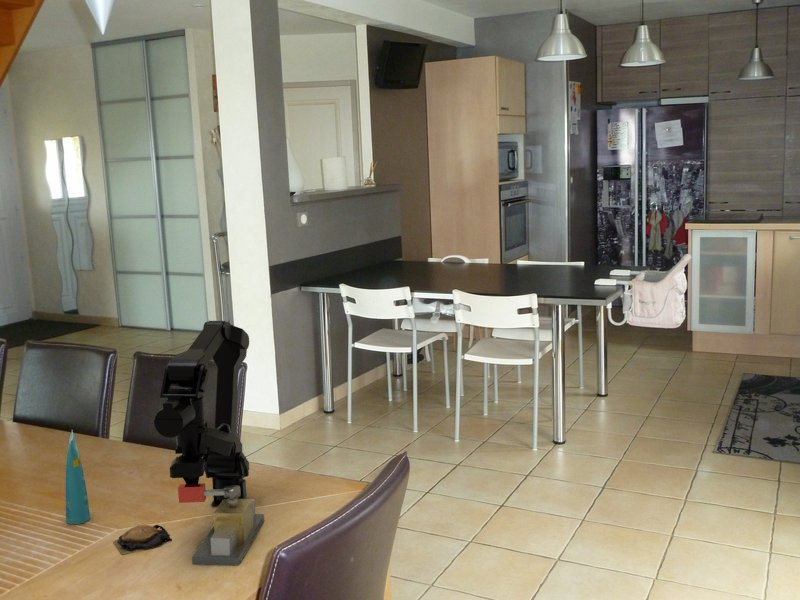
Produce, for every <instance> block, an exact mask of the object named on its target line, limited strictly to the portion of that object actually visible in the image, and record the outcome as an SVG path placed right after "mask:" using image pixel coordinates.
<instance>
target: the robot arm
mask: <svg viewBox="0 0 800 600" xmlns="http://www.w3.org/2000/svg"><path fill="white" fill-rule="evenodd" d="M249 346H250V335H249V334H248V333H247V332H246V331H245V330H244V329H243V328H241V327H239V326H235V325H233V324H231V323H230V322H229V321H226V320H208V321H205V322H204V324H203V327H202V330H201V331H200V333H199V334H198V335H197V337H196V338H195V340H194V341H193V342H192V344H191V345H190V346H189V348H188V349H187V350H185V351H182V352H178V353H177V354H175V356H173V357H172V358H171V359H170V360H169V362H167V364H166V365H165V369H164V374H163V379H162V384H161V390H160V395H159V398H161V399H166V400H164V401H163V402H162V408H161V409H160V410H159V411H157V413H156V414H155V416H154V420H153V423H154V428H155V430H156V431H157V432H158V434H160V435H161V436H163V437H165V438H169V439H171V438H176V439H175V440H176V446H175V449H174V451H175V455H179V456H176V457H175V458H174V459H173V460H172V461H171V463H170V466H169V478H170V479H171V478H172V479H183V481H184V484H200V483H199V481H200V478H201V477H203V476H204V474H205V478H206V479H212V480H211V481H212V489H224V488H225V487H227V486H230V485H238V486H240V492H241V496H240V497H238V498H237V499H247V498H246V497H247V482H246V481H247V480H246V479H245V478H246V477H249V475H250V472H249V471H250V462H249V460H248V459H247V457H246V456H245V454H244V452H243V443H242V441H241V440H240V438H239V436H238V434H237V431H236V430H237V429H236V428H237V413H238V412H237V410H238V407H237V406H238V390H239V389H238V386H239V368H240V366H241V365H242V364H243V363H244V361H245V360H246V358H247V352H248V351H247V350H248V349H249ZM211 360H213V362H214V364H215V366H216V368H217V369H216V386H215V387H216V389H215V390H216V391H215V408H214V409H215V410H214V428H211V427H209V423H208V421H207V419H206V418H205V417H206V416H205V398H204V397H205V395H204V393H205V392H206V388H207V384H208V381H209V377H210V370H209V366H208V365H209V363H210V362H211ZM223 499H227V498H225V497H224V495H214V496H213V501H212V502H211V504H210V505H211V506H212V507H218V506H219V505H220V503H221V502H222V500H223Z"/></svg>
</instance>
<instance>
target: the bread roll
mask: <svg viewBox="0 0 800 600" xmlns="http://www.w3.org/2000/svg"><path fill="white" fill-rule="evenodd" d="M169 542H173V539H172V538H171V535H170V534H169V532H168V531H167V530H166V528H164V527H163V526H162V525H159V524H156V525H147V524H142V525H141V524H140V525H135V526H134V527H133V526H132V527H131V528H130V529H128V530H126V532H124V533H123V534H122V535H119V537H118V539H115V540H113V541H112V544H113V545H114V546H115V548H116V549H117V551H118V552H119V554H120V555H121V556H126V555H131V554H134V553H138V552H143V551H147V550H150V549H154V548H157V547H161V546H165V545H166V544H168V543H169Z"/></svg>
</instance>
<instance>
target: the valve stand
mask: <svg viewBox="0 0 800 600" xmlns="http://www.w3.org/2000/svg"><path fill="white" fill-rule="evenodd" d="M216 507H217V508H216V509H215V510H214V511H213V512H212V513H213V514H212V516H213V518H212V519H213V526H212V527H211V529H210V530H209V532H208V533H207V535H206V536H205V538H204V539H203V540H202V542H201V543H200V544H199V546H198V547H197V548H196V551H195V552H194V553H193V554H192V556H191V565H200V566H201V565H204V566H207V565H210V566H211V565H212V566H239V565H240V564H241V562H242V560H243V558H244V557H245V555H246V553H247V551H248V550H249V548H250V546H251V545H252V543H253V540H255V538H256V535H258V532H259V530H260V528H261V527H262V525H263V523H264V522H265V516H264V515H265V513H256V501H255V498H245V499H237V498H235V499H223V500H222V502H221V503H220V505H219V506H216Z"/></svg>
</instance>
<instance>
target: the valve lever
mask: <svg viewBox="0 0 800 600" xmlns="http://www.w3.org/2000/svg"><path fill="white" fill-rule="evenodd" d="M177 494H178V503H179V504H182V503H185V504H187V503H189V504H190V503H205V502H206V500H207V496H209V497H211V496H214V495H224V497H225V498H227V499H235V498H238V497H240V496H241V492H240V486H238V485H230V486H227V487H225V488H224V489H213V488H212V489H206V483H198V484H186V483H180V484H179V485H178V487H177Z"/></svg>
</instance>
